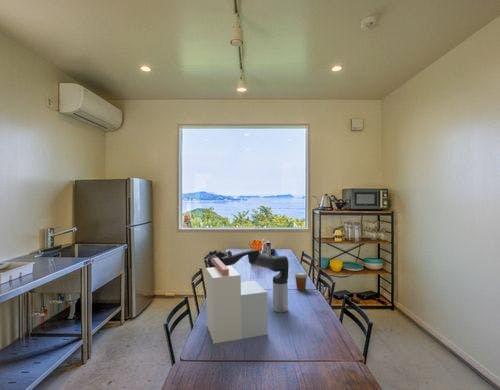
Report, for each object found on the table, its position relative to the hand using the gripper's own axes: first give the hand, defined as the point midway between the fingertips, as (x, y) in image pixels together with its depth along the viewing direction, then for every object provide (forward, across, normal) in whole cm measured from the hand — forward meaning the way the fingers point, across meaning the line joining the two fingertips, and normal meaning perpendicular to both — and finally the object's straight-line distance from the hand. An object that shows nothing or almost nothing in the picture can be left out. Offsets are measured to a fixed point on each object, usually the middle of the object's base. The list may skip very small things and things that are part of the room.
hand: (222, 251), depth 183 cm
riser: (+12, +5, +45) cm, 47 cm away
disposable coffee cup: (-29, +66, +19) cm, 75 cm away
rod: (+20, -6, +14) cm, 25 cm away
